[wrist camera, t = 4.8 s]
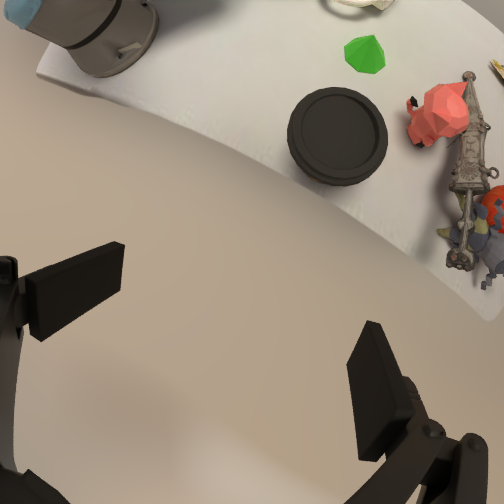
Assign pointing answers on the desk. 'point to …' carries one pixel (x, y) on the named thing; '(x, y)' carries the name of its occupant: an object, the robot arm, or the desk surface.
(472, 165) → the decorative dagger
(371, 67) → the green pyramid
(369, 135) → the coffee cup
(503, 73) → the toy
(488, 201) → the apple
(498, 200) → the toy
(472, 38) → the desk surface
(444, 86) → the cat figurine
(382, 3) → the mug
